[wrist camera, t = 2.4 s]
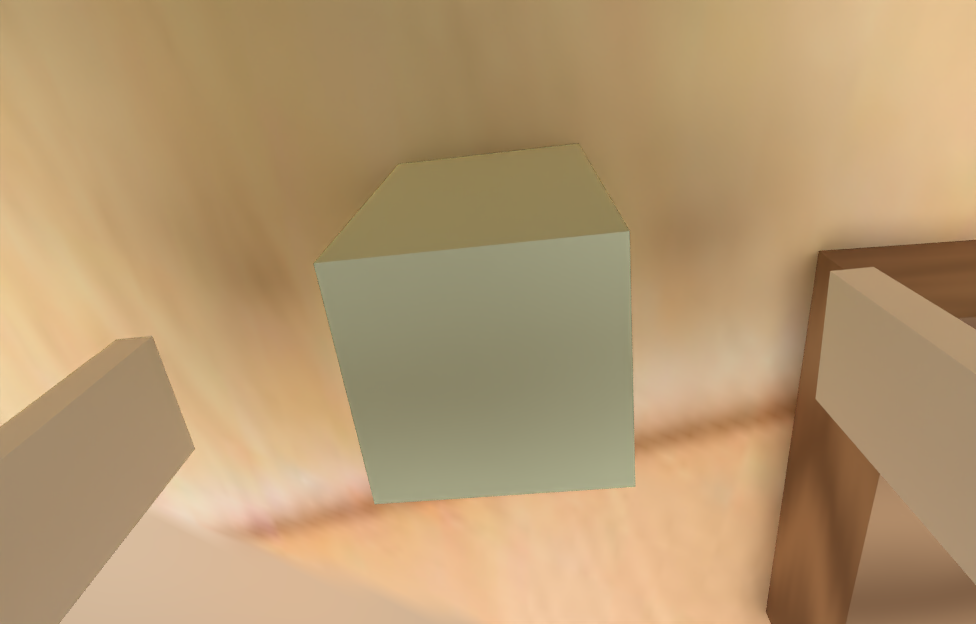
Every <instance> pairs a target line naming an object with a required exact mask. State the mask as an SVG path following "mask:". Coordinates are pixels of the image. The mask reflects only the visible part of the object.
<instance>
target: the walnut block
mask: <svg viewBox="0 0 976 624" xmlns="http://www.w3.org/2000/svg"><path fill="white" fill-rule="evenodd" d="M866 267H875V268H876V269H878V270H880V271H881V272H883V273H885V274H886V275H888V276H889V277H891V278H893V279H894V280H896V281H898V282H899V283H901V284H902V285H904V286H906V287H907V288H909V289H911V290H912V291H914V292H915V293H917V294H919V295H920V296H922V297H924V298H925V299H927V300H929V301H930V302H932V303H933V304H935V305H937V306H938V307H940V308H942V309H943V310H945V311H946V312H948V313H950V314H951V315H953V316H955V317H956V318H958V319H960V320H961V321H963V322H964V323H966V324H968V325H969V326H971V327H973V328H974V329H976V240H969V241H955V242H941V243H927V244H913V245H899V246H884V247H870V248H856V249H842V250H828V251H819V254H818V261H817V267H816V274H815V281H814V288H813V295H812V301H811V308H810V315H809V322H808V329H807V336H806V342H805V349H804V356H803V363H802V370H801V376H800V383H799V390H798V397H797V404H796V410H795V417H794V424H793V431H792V438H791V445H790V451H789V458H788V465H787V472H786V479H785V485H784V492H783V499H782V506H781V513H780V520H779V526H778V533H777V540H776V547H775V554H774V560H773V567H772V574H771V581H770V588H769V594H768V601H767V608H766V613H767V615H768V618H769V620H770V622H771V624H976V585H975V584H974V582H973V581H972V580H971V579H970V578H969V577H968V575H967V574H966V573H965V572H964V571H963V570H962V568H961V567H960V566H959V565H958V564H957V563H956V561H955V560H954V559H953V558H952V557H951V556H950V555H949V553H948V552H947V551H946V550H945V549H944V548H943V546H942V545H941V544H940V543H939V542H938V541H937V539H936V538H935V537H934V536H933V535H932V534H931V532H930V531H929V530H928V529H927V528H926V527H925V525H924V524H923V523H922V522H921V521H920V520H919V519H918V517H917V516H916V515H915V514H914V513H913V512H912V510H911V509H910V508H909V507H908V506H907V505H906V503H905V502H904V501H903V500H902V499H901V498H900V496H899V495H898V494H897V493H896V492H895V491H894V489H893V488H892V487H891V486H890V485H889V484H888V482H887V481H886V480H885V479H884V478H883V477H882V476H881V474H880V473H879V472H878V471H877V470H876V469H875V467H874V466H873V465H872V464H871V463H870V462H869V460H868V459H867V458H866V457H865V456H864V455H863V453H862V452H861V451H860V450H859V449H858V448H857V446H856V445H855V444H854V443H853V442H852V441H851V439H850V438H849V437H848V436H847V435H846V434H845V433H844V431H843V430H842V429H841V428H840V427H839V426H838V424H837V423H836V422H835V421H834V420H833V419H832V417H831V416H830V415H829V414H828V413H827V412H826V410H825V409H824V408H823V407H822V406H821V405H820V403H819V402H818V401H817V400H816V390H817V381H818V373H819V364H820V355H821V346H822V338H823V329H824V320H825V312H826V303H827V294H828V286H829V277H830V271H835V270H846V269H856V268H866Z"/></svg>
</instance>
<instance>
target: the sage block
mask: <svg viewBox="0 0 976 624" xmlns="http://www.w3.org/2000/svg"><path fill="white" fill-rule="evenodd" d="M313 264H314V267H315V271H316V275H317V279H318V283H319V287H320V291H321V295H322V299H323V303H324V307H325V311H326V315H327V319H328V323H329V326H330V330H331V334H332V338H333V342H334V346H335V350H336V354H337V358H338V362H339V366H340V370H341V374H342V378H343V382H344V385H345V389H346V393H347V397H348V401H349V405H350V409H351V413H352V417H353V421H354V425H355V429H356V433H357V437H358V441H359V444H360V448H361V452H362V456H363V460H364V464H365V468H366V472H367V476H368V480H369V484H370V488H371V492H372V496H373V500H374V503H375V504H385V503H400V502H415V501H430V500H445V499H460V498H475V497H490V496H505V495H520V494H534V493H549V492H564V491H579V490H594V489H609V488H624V487H635V448H634V403H633V358H632V313H631V269H630V231H629V229H628V227H627V226H626V224H625V222H624V221H623V219H622V217H621V215H620V214H619V212H618V210H617V209H616V207H615V205H614V203H613V202H612V200H611V198H610V197H609V195H608V193H607V191H606V190H605V188H604V186H603V185H602V183H601V181H600V179H599V178H598V176H597V174H596V173H595V171H594V169H593V167H592V166H591V164H590V162H589V161H588V159H587V157H586V156H585V154H584V152H583V150H582V149H581V147H580V145H579V144H578V143H576V144H568V145H559V146H550V147H542V148H533V149H524V150H515V151H507V152H498V153H489V154H480V155H472V156H463V157H454V158H446V159H437V160H428V161H419V162H411V163H402V164H398V165H397V166H396V168H395V169H394V170H393V171H392V172H391V173H390V175H389V176H388V177H387V178H386V179H385V180H384V182H383V183H382V184H381V185H380V186H379V187H378V189H377V190H376V191H375V192H374V193H373V194H372V196H371V197H370V198H369V199H368V200H367V201H366V203H365V204H364V205H363V206H362V207H361V208H360V210H359V211H358V212H357V213H356V214H355V215H354V217H353V218H352V219H351V220H350V221H349V222H348V224H347V225H346V226H345V227H344V228H343V229H342V231H341V232H340V233H339V234H338V235H337V236H336V238H335V239H334V240H333V241H332V242H331V243H330V245H329V246H328V247H327V248H326V249H325V250H324V252H323V253H322V254H321V255H320V256H319V257H318V259H317V260H316V261H315V262H314V263H313Z"/></svg>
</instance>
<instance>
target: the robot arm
mask: <svg viewBox="0 0 976 624" xmlns="http://www.w3.org/2000/svg"><path fill="white" fill-rule="evenodd" d="M816 400H817V401H818V402H819V403H820V405H821V406H822V407H823V408H824V409H825V410H826V412H827V413H828V414H829V415H830V416H831V417H832V419H833V420H834V421H835V422H836V423H837V424H838V426H839V427H840V428H841V429H842V430H843V431H844V433H845V434H846V435H847V436H848V437H849V438H850V439H851V441H852V442H853V443H854V444H855V445H856V446H857V448H858V449H859V450H860V451H861V452H862V453H863V455H864V456H865V457H866V458H867V459H868V460H869V462H870V463H871V464H872V465H873V466H874V467H875V469H876V470H877V471H878V472H879V473H880V474H881V476H882V477H883V478H884V479H885V480H886V481H887V482H888V484H889V485H890V486H891V487H892V488H893V489H894V491H895V492H896V493H897V494H898V495H899V496H900V498H901V499H902V500H903V501H904V502H905V503H906V505H907V506H908V507H909V508H910V509H911V510H912V512H913V513H914V514H915V515H916V516H917V517H918V519H919V520H920V521H921V522H922V523H923V524H924V525H925V527H926V528H927V529H928V530H929V531H930V532H931V534H932V535H933V536H934V537H935V538H936V539H937V541H938V542H939V543H940V544H941V545H942V546H943V548H944V549H945V550H946V551H947V552H948V553H949V555H950V556H951V557H952V558H953V559H954V560H955V561H956V563H957V564H958V565H959V566H960V567H961V568H962V570H963V571H964V572H965V573H966V574H967V575H968V577H969V578H970V579H971V580H972V581H973V582H974V584H975V585H976V329H974V328H973V327H971V326H969V325H968V324H966V323H964V322H963V321H961V320H960V319H958V318H956V317H955V316H953V315H951V314H950V313H948V312H946V311H945V310H943V309H942V308H940V307H938V306H937V305H935V304H933V303H932V302H930V301H929V300H927V299H925V298H924V297H922V296H920V295H919V294H917V293H915V292H914V291H912V290H911V289H909V288H907V287H906V286H904V285H902V284H901V283H899V282H898V281H896V280H894V279H893V278H891V277H889V276H888V275H886V274H885V273H883V272H881V271H880V270H878V269H876V268H875V267H866V268H856V269H846V270H835V271H830V277H829V286H828V294H827V303H826V312H825V320H824V329H823V338H822V346H821V355H820V364H819V373H818V381H817V390H816ZM194 449H195V447H194V445H193V442H192V440H191V437H190V434H189V432H188V429H187V426H186V424H185V421H184V418H183V416H182V413H181V411H180V408H179V405H178V403H177V400H176V397H175V395H174V392H173V389H172V387H171V384H170V382H169V379H168V376H167V374H166V371H165V368H164V366H163V363H162V360H161V358H160V355H159V353H158V350H157V347H156V345H155V342H154V339H153V337H152V336H149V337H139V338H129V339H118V340H115V341H114V342H112V343H111V344H110V345H108V346H107V347H106V348H105V349H103V350H102V351H101V352H99V353H98V354H97V355H95V356H94V357H93V358H91V359H90V360H89V361H87V362H86V363H85V364H83V365H82V366H81V367H79V368H78V369H77V370H75V371H74V372H73V373H71V374H70V375H69V376H67V377H66V378H65V379H63V380H62V381H61V382H59V383H58V384H57V385H55V386H54V387H53V388H51V389H50V390H49V391H47V392H46V393H45V394H43V395H42V396H41V397H39V398H38V399H37V400H35V401H34V402H33V403H31V404H30V405H29V406H27V407H26V408H25V409H23V410H22V411H21V412H19V413H18V414H17V415H15V416H14V417H13V418H11V419H10V420H9V421H7V422H6V423H5V424H3V425H2V426H1V427H0V624H59V623H60V622H61V620H62V619H63V618H64V617H65V615H66V614H67V613H68V611H69V610H70V609H71V608H72V606H73V605H74V604H75V602H76V601H77V600H78V599H79V597H80V596H81V595H82V593H83V592H84V591H85V590H86V588H87V587H88V586H89V585H90V583H91V582H92V581H93V579H94V578H95V577H96V575H97V574H98V573H99V572H100V570H101V569H102V568H103V566H104V565H105V564H106V563H107V561H108V560H109V559H110V557H111V556H112V555H113V554H114V552H115V551H116V550H117V548H118V547H119V546H120V545H121V543H122V542H123V541H124V539H125V538H126V537H127V536H128V534H129V533H130V532H131V530H132V529H133V528H134V527H135V525H136V524H137V523H138V521H139V520H140V519H141V518H142V516H143V515H144V514H145V512H146V511H147V510H148V509H149V507H150V506H151V505H152V503H153V502H154V501H155V500H156V498H157V497H158V496H159V494H160V493H161V492H162V491H163V489H164V488H165V487H166V485H167V484H168V483H169V482H170V480H171V479H172V478H173V476H174V475H175V474H176V473H177V471H178V470H179V469H180V467H181V466H182V465H183V464H184V462H185V461H186V460H187V458H188V457H189V456H190V455H191V453H192V452H193V451H194Z"/></svg>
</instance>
